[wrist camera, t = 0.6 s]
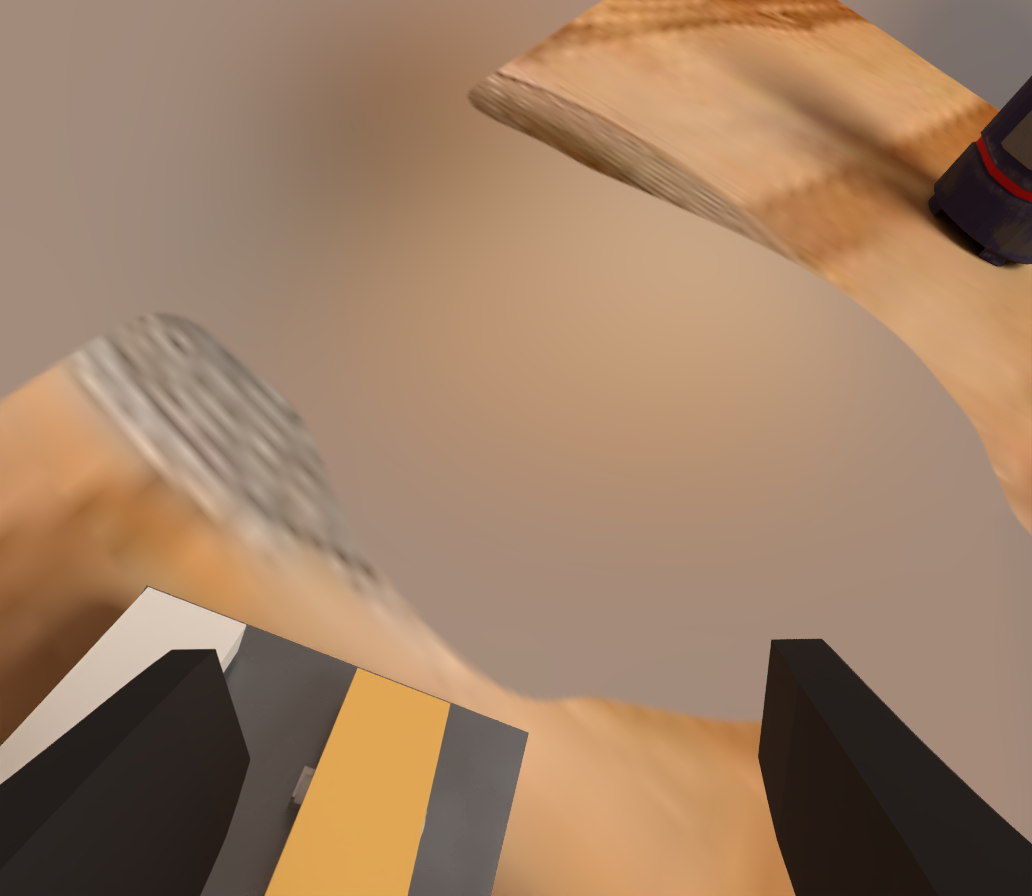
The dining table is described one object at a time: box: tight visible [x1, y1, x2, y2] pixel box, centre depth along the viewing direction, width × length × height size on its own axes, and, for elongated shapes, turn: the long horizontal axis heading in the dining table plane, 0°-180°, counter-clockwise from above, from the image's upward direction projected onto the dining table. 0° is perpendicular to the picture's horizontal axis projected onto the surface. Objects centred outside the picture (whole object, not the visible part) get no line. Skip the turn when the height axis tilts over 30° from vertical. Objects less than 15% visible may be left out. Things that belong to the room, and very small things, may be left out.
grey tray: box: [141, 586, 528, 896], centre depth 21 cm, size 8×13×4 cm, turn 76°
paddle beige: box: [0, 587, 246, 784], centre depth 18 cm, size 7×3×2 cm, turn 168°
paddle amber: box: [264, 668, 450, 896], centre depth 19 cm, size 7×3×2 cm, turn 168°
